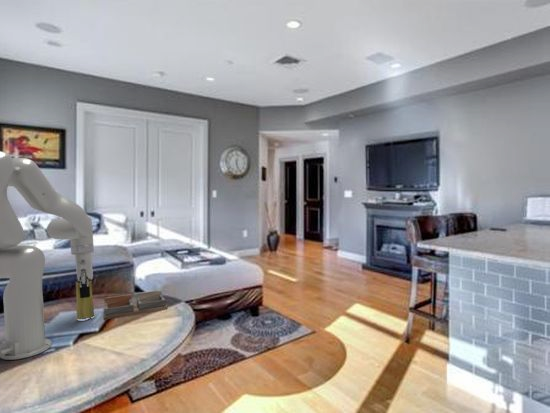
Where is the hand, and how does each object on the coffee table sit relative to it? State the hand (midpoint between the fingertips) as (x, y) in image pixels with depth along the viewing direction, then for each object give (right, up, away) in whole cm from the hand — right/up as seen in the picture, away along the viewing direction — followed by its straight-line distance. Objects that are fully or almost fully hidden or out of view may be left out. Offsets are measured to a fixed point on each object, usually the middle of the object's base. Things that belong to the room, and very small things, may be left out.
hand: (85, 293), depth 133 cm
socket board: (+16, -9, +8) cm, 20 cm away
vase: (0, -9, -1) cm, 9 cm away
